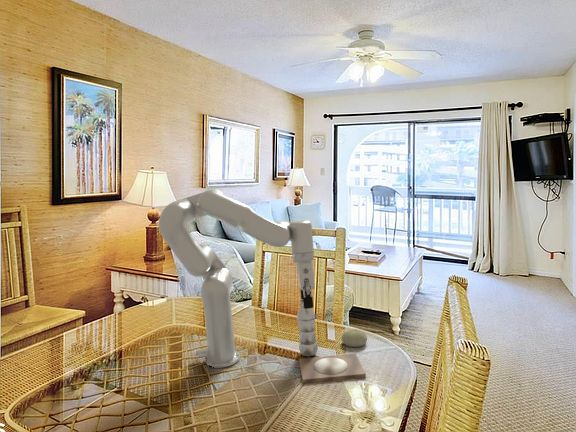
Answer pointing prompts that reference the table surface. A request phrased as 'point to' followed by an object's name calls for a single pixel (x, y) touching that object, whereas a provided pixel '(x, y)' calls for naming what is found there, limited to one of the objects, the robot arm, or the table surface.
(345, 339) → the sea urchin shell
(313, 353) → the plastic bottle
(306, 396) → the table surface
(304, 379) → the walnut board
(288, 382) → the table surface
